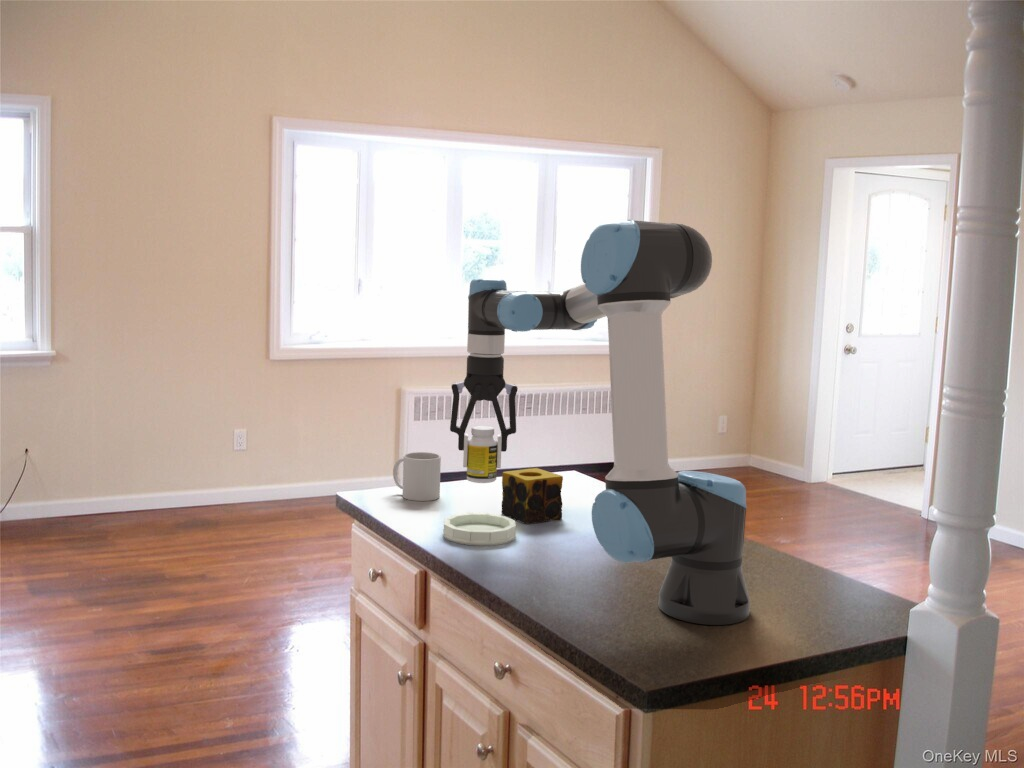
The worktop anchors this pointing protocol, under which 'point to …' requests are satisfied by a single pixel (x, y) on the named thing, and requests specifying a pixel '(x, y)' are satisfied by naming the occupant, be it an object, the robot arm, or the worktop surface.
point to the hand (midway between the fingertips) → (481, 466)
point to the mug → (419, 476)
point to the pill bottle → (482, 455)
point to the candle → (532, 495)
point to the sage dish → (479, 529)
